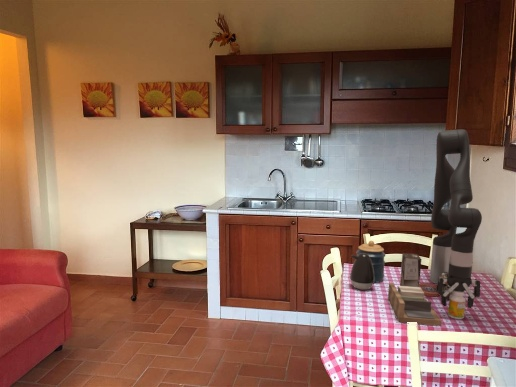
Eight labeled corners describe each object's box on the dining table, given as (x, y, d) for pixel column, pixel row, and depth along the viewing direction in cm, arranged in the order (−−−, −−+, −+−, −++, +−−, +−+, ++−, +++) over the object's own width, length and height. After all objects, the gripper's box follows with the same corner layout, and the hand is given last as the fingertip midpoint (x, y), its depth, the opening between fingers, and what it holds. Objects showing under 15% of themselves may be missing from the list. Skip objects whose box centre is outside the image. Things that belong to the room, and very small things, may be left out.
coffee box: (418, 298, 170) (421, 259, 168) (402, 296, 172) (405, 258, 170) (415, 290, 179) (418, 253, 177) (399, 289, 180) (402, 252, 179)
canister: (353, 273, 201) (355, 236, 199) (381, 275, 199) (384, 238, 197) (356, 281, 188) (358, 243, 186) (385, 284, 187) (388, 245, 184)
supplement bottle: (444, 313, 156) (447, 288, 154) (458, 313, 156) (461, 287, 155) (452, 319, 150) (455, 293, 149) (467, 319, 151) (469, 293, 150)
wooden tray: (387, 299, 168) (389, 282, 167) (424, 302, 166) (425, 285, 165) (398, 322, 146) (400, 303, 145) (441, 326, 144) (442, 306, 144)
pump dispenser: (347, 283, 186) (349, 249, 184) (371, 284, 186) (373, 250, 184) (351, 291, 176) (353, 255, 174) (376, 292, 175) (378, 256, 174)
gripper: (477, 261, 154) (473, 304, 156) (436, 258, 155) (433, 301, 157) (485, 267, 146) (481, 312, 148) (442, 264, 148) (439, 308, 150)
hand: (456, 306), depth 153 cm, fingers open, 8 cm apart
